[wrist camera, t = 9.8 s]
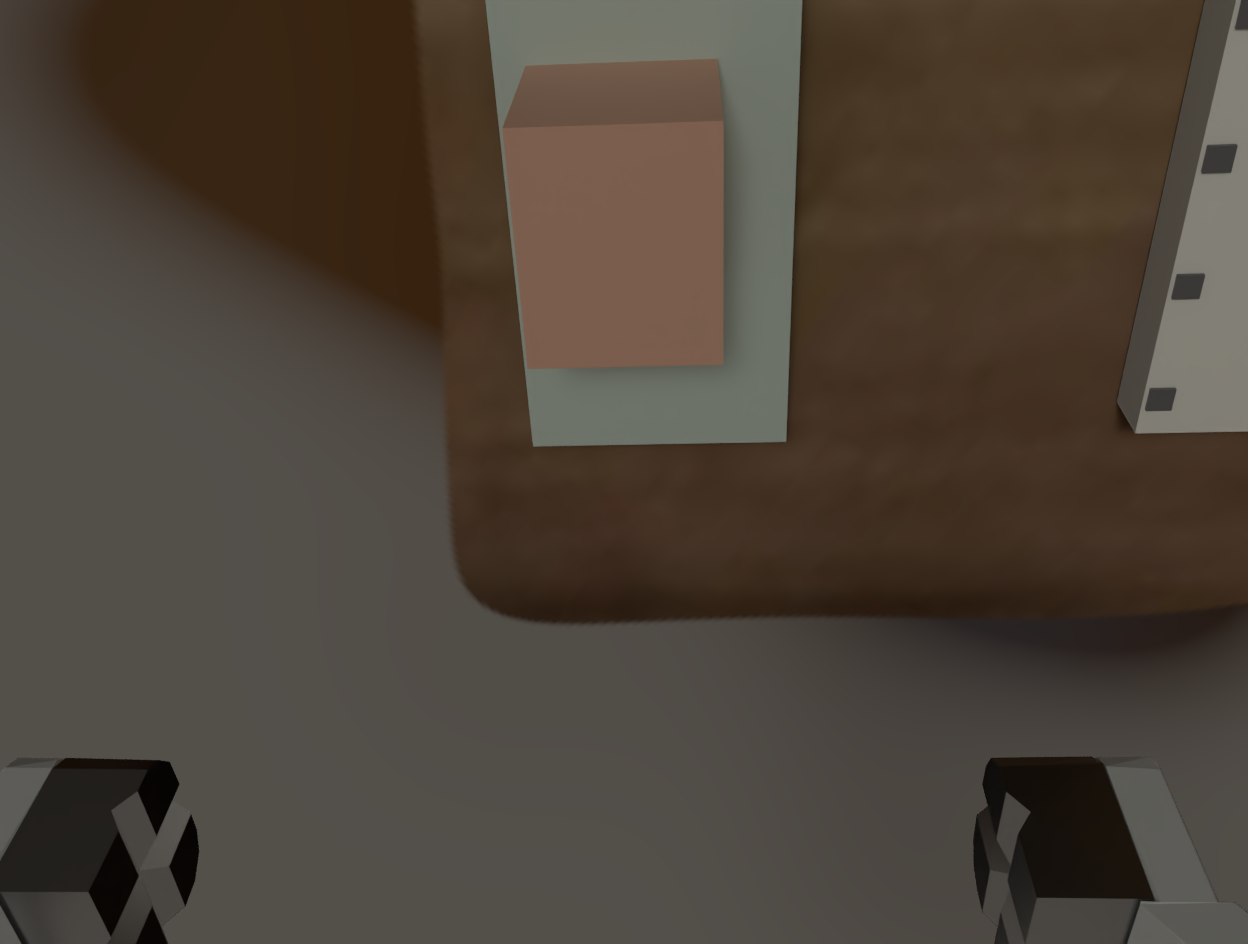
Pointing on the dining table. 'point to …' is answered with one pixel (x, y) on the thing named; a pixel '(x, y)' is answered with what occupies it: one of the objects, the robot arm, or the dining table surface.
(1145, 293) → the board
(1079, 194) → the dining table surface
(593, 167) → the green slab pink block
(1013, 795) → the robot arm
